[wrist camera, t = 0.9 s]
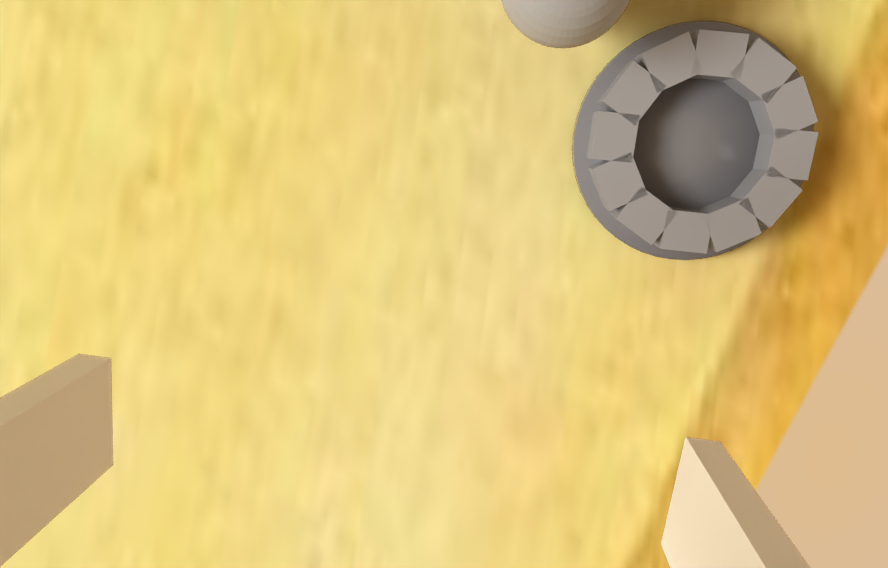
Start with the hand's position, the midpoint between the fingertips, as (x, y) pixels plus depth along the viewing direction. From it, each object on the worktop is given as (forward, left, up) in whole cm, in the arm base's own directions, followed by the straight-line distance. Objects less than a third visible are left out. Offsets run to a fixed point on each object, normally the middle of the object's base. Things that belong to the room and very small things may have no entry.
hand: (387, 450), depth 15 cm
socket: (-8, +12, -22) cm, 26 cm away
